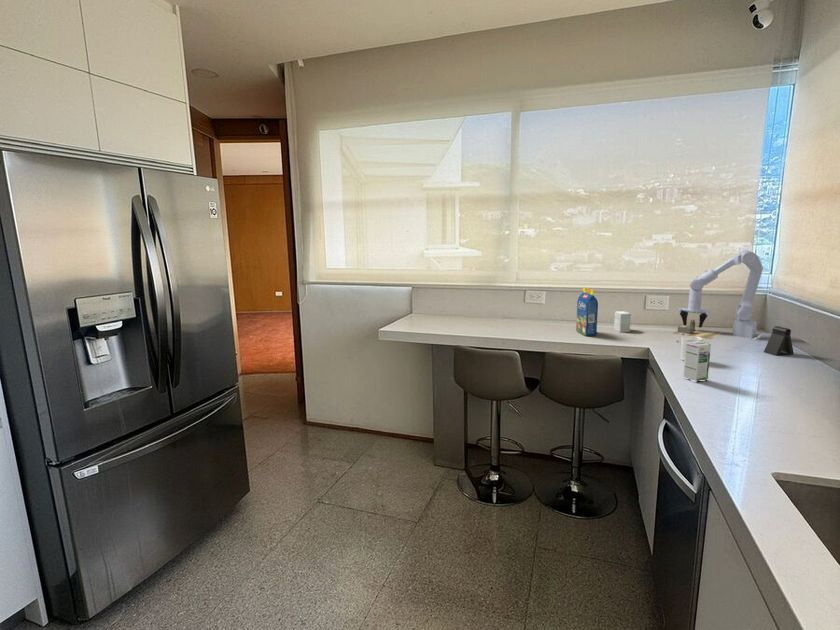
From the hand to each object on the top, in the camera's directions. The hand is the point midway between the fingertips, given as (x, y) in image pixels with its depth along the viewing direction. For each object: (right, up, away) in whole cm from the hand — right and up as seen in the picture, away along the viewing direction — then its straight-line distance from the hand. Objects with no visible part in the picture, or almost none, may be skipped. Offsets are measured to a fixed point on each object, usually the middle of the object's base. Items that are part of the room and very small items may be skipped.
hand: (692, 326), depth 237 cm
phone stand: (+14, -11, -40) cm, 44 cm away
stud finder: (-5, -3, -3) cm, 7 cm away
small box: (-34, -3, +9) cm, 36 cm away
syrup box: (-43, -19, -71) cm, 85 cm away
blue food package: (-56, -4, +5) cm, 56 cm away
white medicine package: (-31, -14, -47) cm, 58 cm away
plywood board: (-1, -5, -5) cm, 7 cm away
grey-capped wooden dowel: (0, -3, 0) cm, 3 cm away
